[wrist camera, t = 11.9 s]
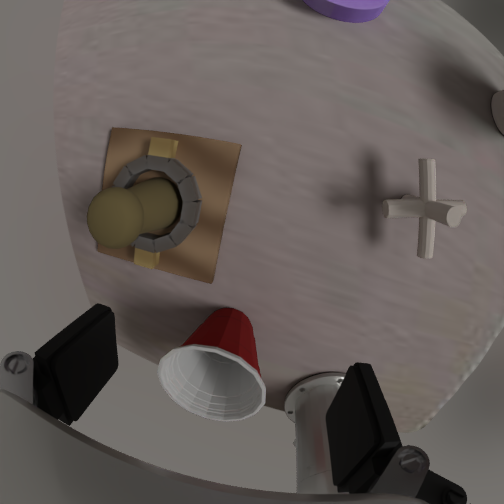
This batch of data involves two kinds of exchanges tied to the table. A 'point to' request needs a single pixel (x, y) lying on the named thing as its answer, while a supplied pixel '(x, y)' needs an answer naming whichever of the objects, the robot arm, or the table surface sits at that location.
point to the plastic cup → (216, 369)
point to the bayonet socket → (192, 192)
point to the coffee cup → (498, 109)
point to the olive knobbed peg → (133, 211)
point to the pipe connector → (426, 208)
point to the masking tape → (349, 9)
